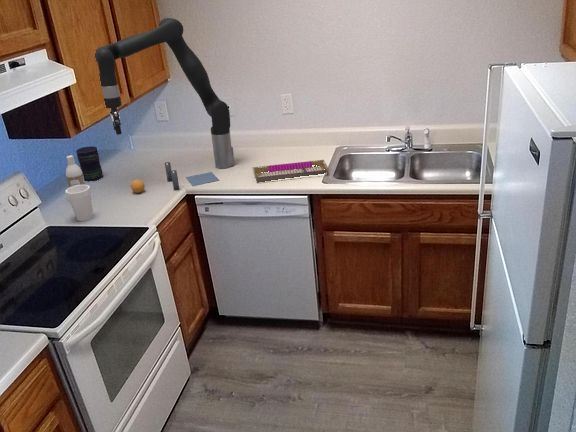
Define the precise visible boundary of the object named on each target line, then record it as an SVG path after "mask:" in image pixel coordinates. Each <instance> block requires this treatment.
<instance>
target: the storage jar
mask: <svg viewBox="0 0 576 432" xmlns="http://www.w3.org/2000/svg"><path fill="white" fill-rule="evenodd" d="M75 152H76V153H75V154H76V157H77V160H78V163H79V167H80V169H81V170H82V173H83V177H84V181H93V182H97V180H98V181H100V180H102V179H103V178H104V175H103V173H104V172H103V168H102V165H101V163H100V155H99V151H98V147H97V146H95V145H94V146H93V145H92V146H84V147H80V148H77V149H76V151H75ZM101 178H102V179H101ZM99 179H100V180H99Z"/></svg>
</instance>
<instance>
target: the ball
mask: <svg viewBox="0 0 576 432" xmlns="http://www.w3.org/2000/svg"><path fill="white" fill-rule="evenodd" d="M130 188H131V190H132V192H134V193H135V194H137V193H138V194H140V193H142V192H143V191H144V190H145V183H144V181H143V180H141V179H135V180H133V181H132V182H131V184H130Z"/></svg>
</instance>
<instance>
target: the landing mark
mask: <svg viewBox="0 0 576 432" xmlns="http://www.w3.org/2000/svg"><path fill="white" fill-rule="evenodd" d="M185 179H186V180H187V181H188V182H189V184H190V185H191V186H192V187H195V186H199V185H204V184H211V183H213V182H218V181H220V179H219V178H218V177H217V176H216V175H215V174H214V173H213V172H212V171H209V172H204V173H198V174H195V175H190V176H185Z"/></svg>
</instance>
